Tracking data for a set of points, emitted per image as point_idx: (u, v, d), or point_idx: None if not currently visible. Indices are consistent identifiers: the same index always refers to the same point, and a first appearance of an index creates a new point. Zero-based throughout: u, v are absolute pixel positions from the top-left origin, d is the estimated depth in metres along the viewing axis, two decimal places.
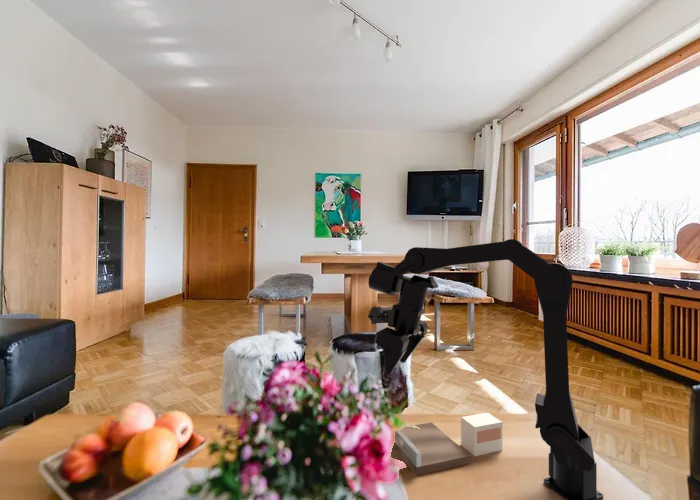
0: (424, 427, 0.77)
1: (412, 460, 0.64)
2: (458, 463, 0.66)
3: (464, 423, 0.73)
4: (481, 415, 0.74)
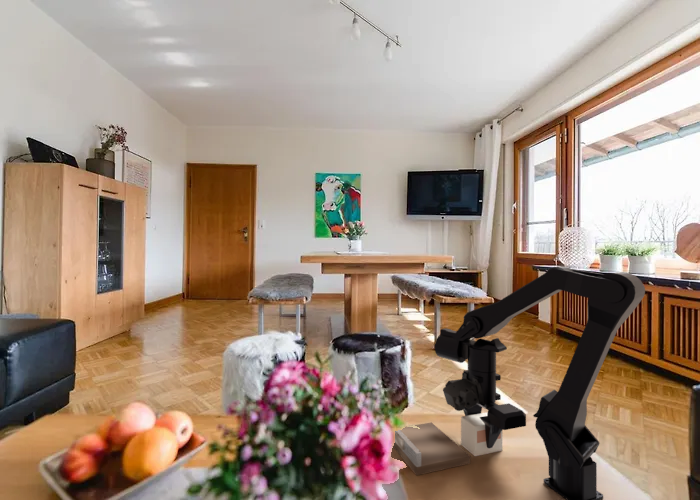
0: (424, 427, 0.77)
1: (412, 460, 0.64)
2: (458, 463, 0.66)
3: (464, 423, 0.73)
4: (481, 415, 0.74)
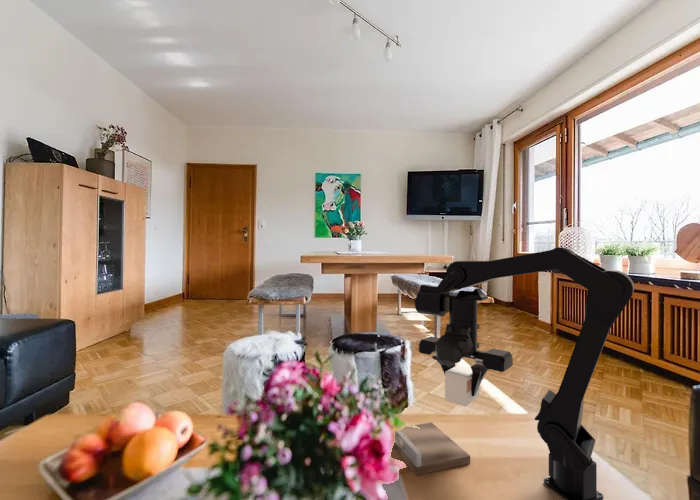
0: (424, 427, 0.77)
1: (412, 460, 0.64)
2: (458, 463, 0.66)
3: (449, 377, 0.71)
4: (458, 367, 0.75)
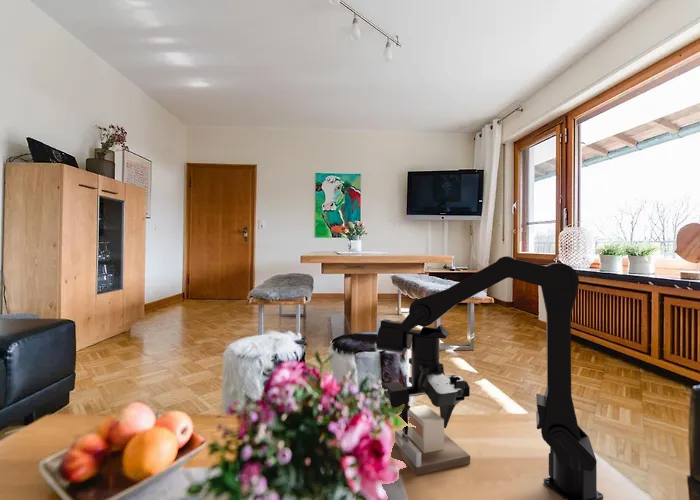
0: None
1: (412, 460, 0.64)
2: (458, 463, 0.66)
3: (428, 427, 0.68)
4: (415, 411, 0.72)
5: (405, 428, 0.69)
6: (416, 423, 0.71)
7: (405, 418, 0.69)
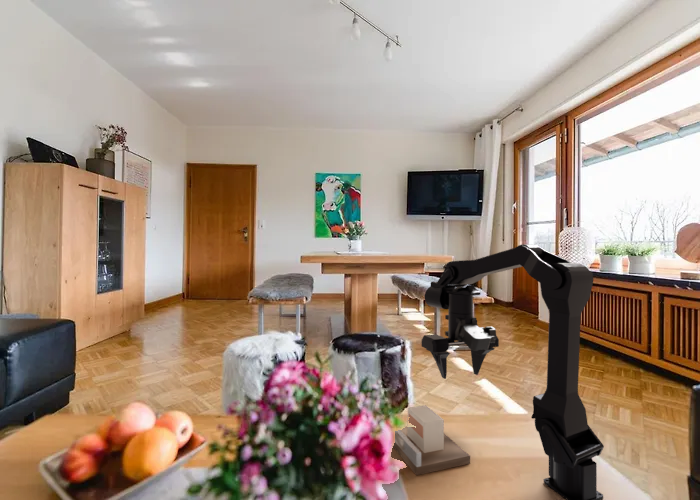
0: None
1: (412, 460, 0.64)
2: (458, 463, 0.66)
3: (428, 427, 0.68)
4: (415, 411, 0.72)
5: (444, 372, 0.80)
6: (416, 423, 0.71)
7: (444, 363, 0.80)
